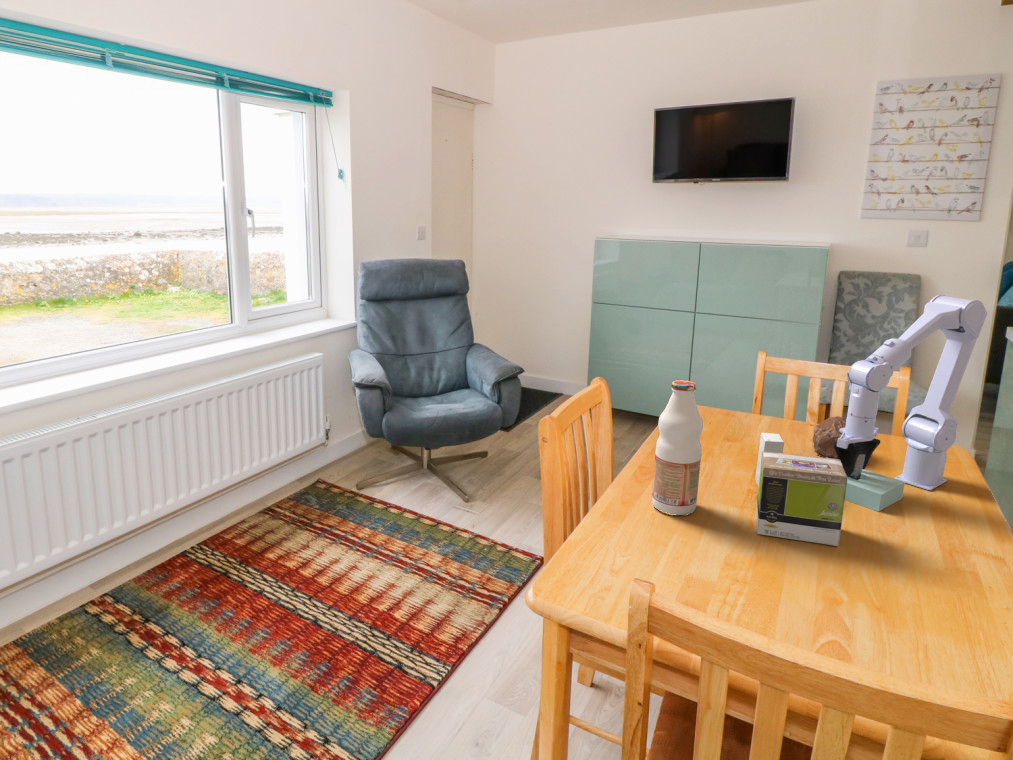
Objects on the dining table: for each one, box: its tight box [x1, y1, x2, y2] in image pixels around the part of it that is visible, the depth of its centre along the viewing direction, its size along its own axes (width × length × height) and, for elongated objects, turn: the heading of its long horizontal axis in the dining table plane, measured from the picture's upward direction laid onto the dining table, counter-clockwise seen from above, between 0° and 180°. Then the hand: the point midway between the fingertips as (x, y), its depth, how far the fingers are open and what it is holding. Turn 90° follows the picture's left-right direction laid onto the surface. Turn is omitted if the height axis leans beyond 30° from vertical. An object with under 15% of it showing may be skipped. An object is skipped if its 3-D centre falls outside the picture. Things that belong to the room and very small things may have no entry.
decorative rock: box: [812, 415, 847, 459], centre depth 172 cm, size 13×11×10 cm
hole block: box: [845, 469, 906, 512], centre depth 151 cm, size 11×18×4 cm, turn 36°
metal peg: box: [846, 452, 865, 480], centre depth 150 cm, size 3×3×10 cm
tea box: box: [756, 451, 848, 547], centre depth 131 cm, size 15×10×15 cm
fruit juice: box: [651, 379, 704, 516], centre depth 139 cm, size 9×9×28 cm
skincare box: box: [754, 432, 785, 487], centre depth 153 cm, size 6×4×12 cm
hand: (852, 471), depth 150 cm, fingers open, 6 cm apart
